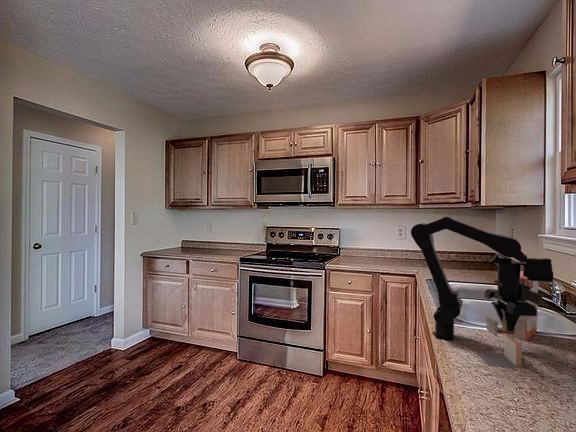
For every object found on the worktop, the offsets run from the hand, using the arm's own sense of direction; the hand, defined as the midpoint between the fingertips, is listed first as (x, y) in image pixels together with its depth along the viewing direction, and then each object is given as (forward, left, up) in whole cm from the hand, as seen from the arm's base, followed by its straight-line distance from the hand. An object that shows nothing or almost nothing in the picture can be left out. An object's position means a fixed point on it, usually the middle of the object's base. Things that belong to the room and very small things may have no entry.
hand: (508, 329), depth 98 cm
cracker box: (-13, +11, -6) cm, 18 cm away
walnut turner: (0, -2, -1) cm, 2 cm away
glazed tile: (+9, -3, -6) cm, 11 cm away
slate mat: (+9, -7, -6) cm, 13 cm away
